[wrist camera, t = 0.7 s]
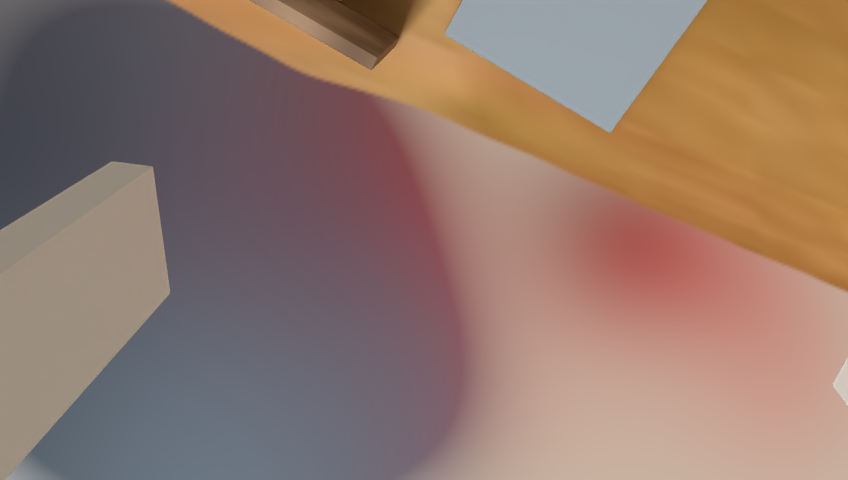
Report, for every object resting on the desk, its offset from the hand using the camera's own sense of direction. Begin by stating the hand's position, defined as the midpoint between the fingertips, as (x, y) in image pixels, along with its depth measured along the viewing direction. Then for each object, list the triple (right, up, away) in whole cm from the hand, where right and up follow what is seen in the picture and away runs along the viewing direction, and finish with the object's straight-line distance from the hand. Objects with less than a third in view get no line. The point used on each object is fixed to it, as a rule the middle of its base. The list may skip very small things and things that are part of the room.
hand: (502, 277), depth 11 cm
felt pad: (+6, +13, +18) cm, 23 cm away
